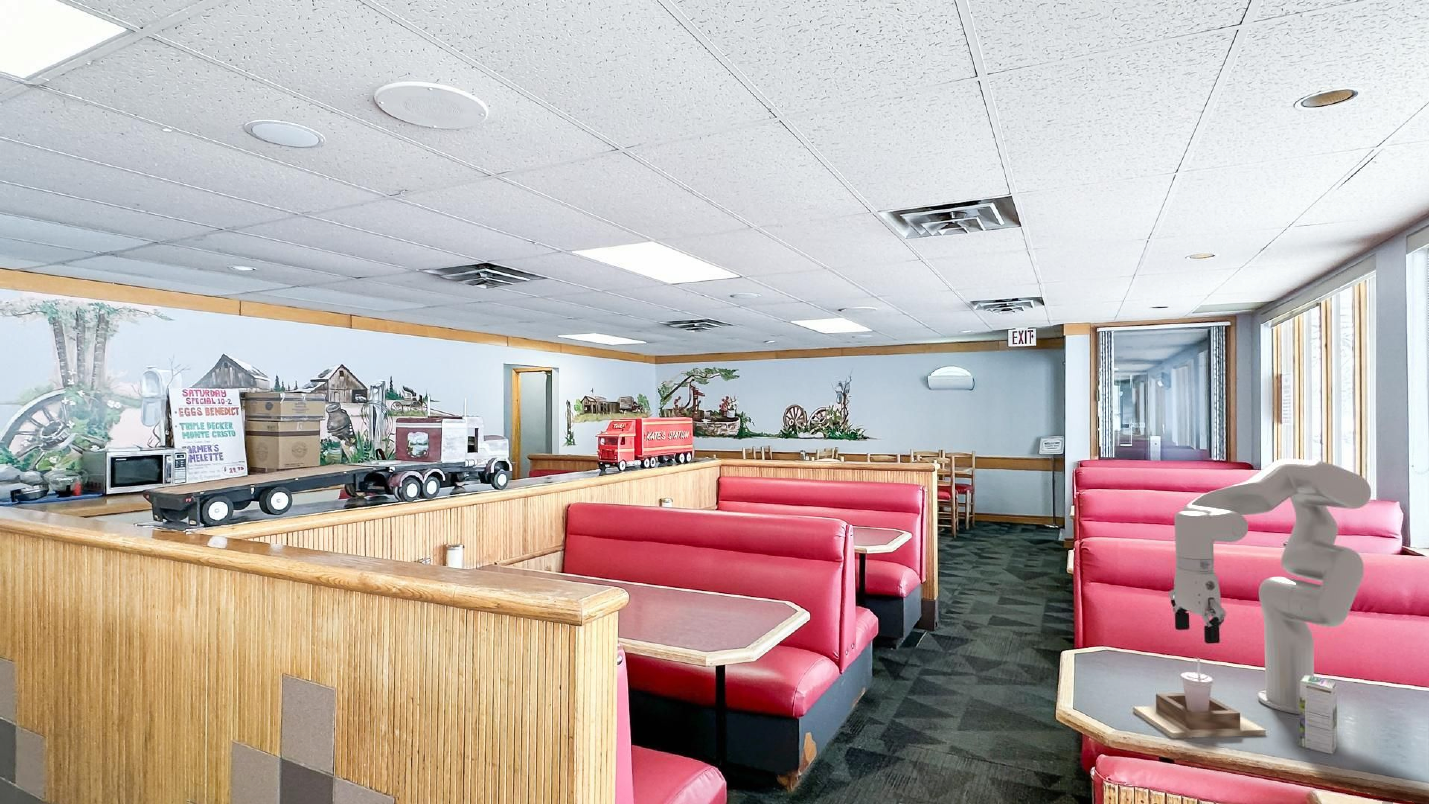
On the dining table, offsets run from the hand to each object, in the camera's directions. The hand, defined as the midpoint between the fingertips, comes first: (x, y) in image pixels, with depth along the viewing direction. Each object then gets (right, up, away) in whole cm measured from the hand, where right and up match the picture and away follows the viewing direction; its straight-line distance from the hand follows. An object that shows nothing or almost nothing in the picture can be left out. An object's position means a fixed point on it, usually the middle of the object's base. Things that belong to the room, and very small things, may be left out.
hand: (1196, 636), depth 169 cm
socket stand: (0, -21, 0) cm, 21 cm away
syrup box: (+18, -21, -12) cm, 30 cm away
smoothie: (0, -20, 0) cm, 20 cm away
